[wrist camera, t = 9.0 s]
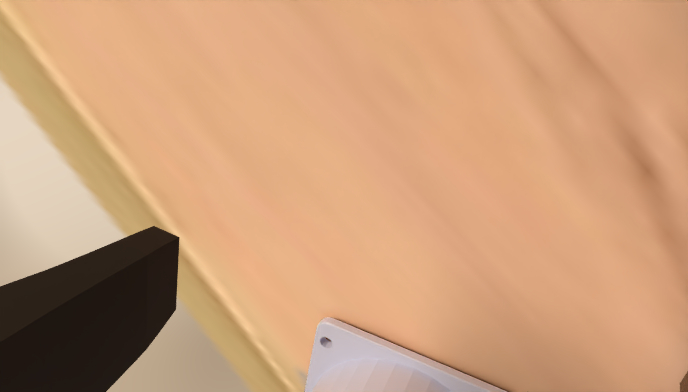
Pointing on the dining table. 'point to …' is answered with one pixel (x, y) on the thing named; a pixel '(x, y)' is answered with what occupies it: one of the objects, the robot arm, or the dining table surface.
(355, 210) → the dining table surface
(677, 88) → the dining table surface
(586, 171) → the dining table surface
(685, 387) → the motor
